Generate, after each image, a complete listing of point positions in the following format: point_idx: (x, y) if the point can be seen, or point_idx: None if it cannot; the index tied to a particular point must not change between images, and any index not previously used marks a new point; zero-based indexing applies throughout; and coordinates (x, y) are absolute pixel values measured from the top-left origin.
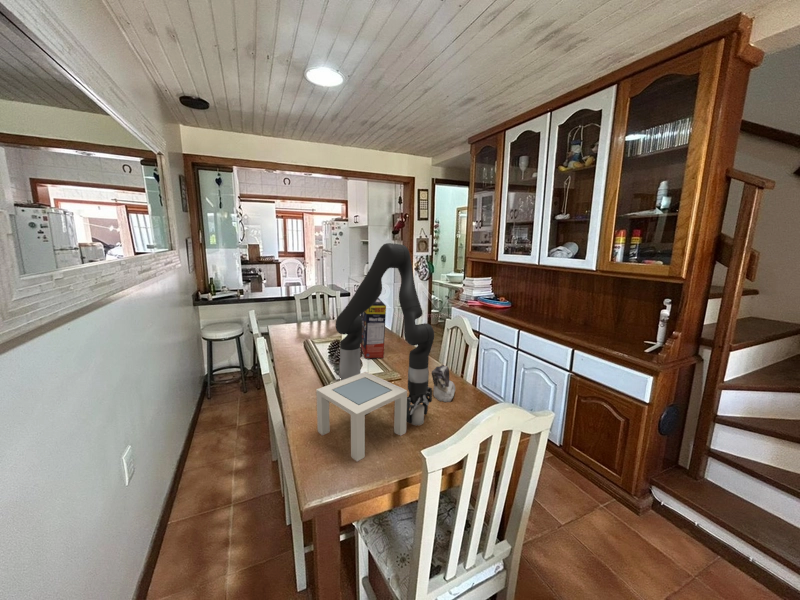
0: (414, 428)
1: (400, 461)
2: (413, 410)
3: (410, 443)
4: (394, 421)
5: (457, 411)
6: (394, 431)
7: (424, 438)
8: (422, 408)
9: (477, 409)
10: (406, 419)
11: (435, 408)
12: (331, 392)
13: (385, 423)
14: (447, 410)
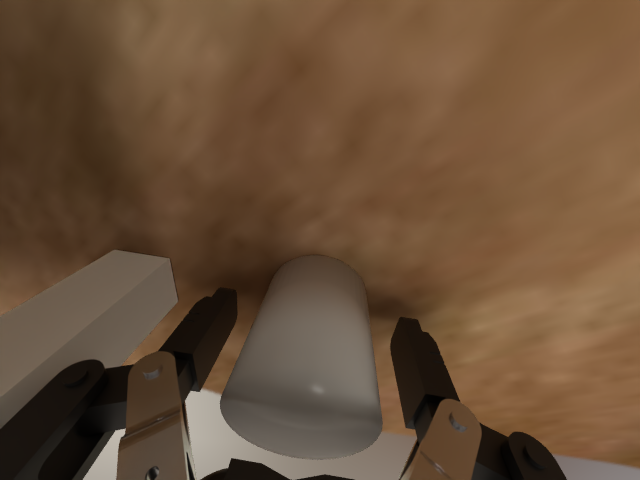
0: (245, 316)
1: None
2: (226, 405)
3: (139, 350)
4: (19, 307)
5: (564, 413)
6: (109, 255)
7: (219, 377)
8: (309, 452)
9: (623, 464)
10: (191, 313)
11: (565, 319)
12: None
13: (114, 124)
14: (559, 378)
